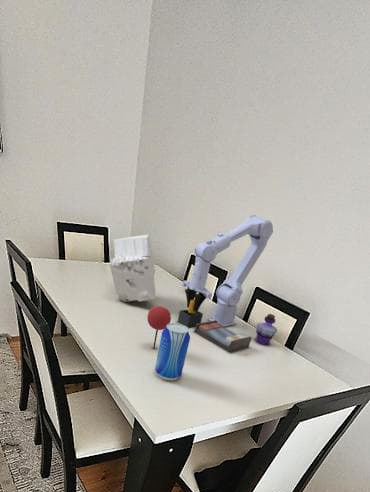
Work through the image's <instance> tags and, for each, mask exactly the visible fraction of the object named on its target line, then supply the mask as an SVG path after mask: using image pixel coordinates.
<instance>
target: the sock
mask: <svg viewBox="0 0 370 492" xmlns="http://www.w3.org/2000/svg"><path fill="white" fill-rule="evenodd" d="M194 304H195V298H194V299H191V300H190V304H189V308H188V309H187V310H188V312H189V313H191V314H195V313H196V311H194Z"/></svg>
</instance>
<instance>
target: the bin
mask: <svg viewBox="0 0 370 492" xmlns="http://www.w3.org/2000/svg"><path fill="white" fill-rule="evenodd" d="M203 315H204V313H202V312H200V311H199V310H198V311H196V313H195V314H191V313H189V312H188V309H180V310H179V314H178V319H177V323H178V324H182V325H184V326H186V327H187V328H191V327H196V324H198V323H202V319H203Z"/></svg>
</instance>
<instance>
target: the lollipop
mask: <svg viewBox="0 0 370 492" xmlns="http://www.w3.org/2000/svg"><path fill="white" fill-rule="evenodd" d="M171 315H172V314H171V312H170V311H169V310H168V309H167V308H166V307H164V306H162V305H156V306H153V307H151V308H150V309H149V311H148V313H147V317H146V318H147V323H148V326H150V327H151V328H152V329H153V330H155V335H154V341H153V347H152V349H154V350H155V348H156V344H157V339H158V338H157V337H158V332H159V331H163V330H164V329H165V328H166V326H167V324H169V323H171V321H172V320H171V319H172V316H171Z"/></svg>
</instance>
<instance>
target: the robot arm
mask: <svg viewBox="0 0 370 492" xmlns="http://www.w3.org/2000/svg"><path fill="white" fill-rule="evenodd" d="M273 227H274V226H273V222H272V221H271V220H269V219H265V218H262V217H259V216H258V215H255V214H252V215H251V216H249V217H247V218H245V220H244V222H242V223H241V224H239V225H238V226H236V227H235V228H233V229H232V230H231V231H229V232H227V233H225V232H219V233H217V235H216V236H214V237H213V238H211V239H208V240H206V242H205V241H201V242H199V243H198V244H197V246H196V247H195V248H194V254H195V262H194V266H193V267H194V268H193V272H192V277H191V281H189V280H187V279H186V280H183V281H182V284H181V285H182V286H183V287H186V288H185V289H184V293H185V297H186V308H188V309H189V304H190V300H191V299H195V304H194V311H199V309H200V307H201V306H202V304H203V302H204V301H205V300H206V299H212V298H213V297H212V296H213V292H211V291H210V290H208V289H207V288H206V285H207V279H208V276H209V272H210V267H211V263H212V262H213V261H214V260H215V258H216V256H217V255H219V254H220V253H222V252H223V251H225V250H226V249H228V248H230V247H231V244H232V243H233V242H235V241H237V240H239V239H241V238H243V237H245V236H247V235H248V236H249V239H250V245H249V247H248V249H247V250H246V252H245V253H244V255H243V256H242V258H241V260H240V261H239V264H238V265H237V266H236V268H235V270H234V272H233V273H232V275H231V276H230V278H227V279H225V280H223V283H221V284H220V285H219V286H218V287H217V288H216V291H215V295H216V297H217V298H216V300H217V303H216V306H215V309H214V313H213V317H210V318H208V321H214V320H216V321H217V323H219V324H221V325H222V326H223V327H224V328H226V327H228V326H234V325H235V318H236V316H237V311H238V307H237V304H238V303H239V302H240V300H241V296H242V294H243V292H244V290H243V287H242V286H243V284H244V282H245V280H246V279H247V278H248V276H249V274H250V273H251V271H252V269H253V268H254V267H255V264H256V263H257V262H258V260H259V258H260V257H261V255H262V253H263V252H264V250H265V249H266V247H267V244H268V241H269V240H270V238H271V236H272V235H273V233H274V228H273Z"/></svg>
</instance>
